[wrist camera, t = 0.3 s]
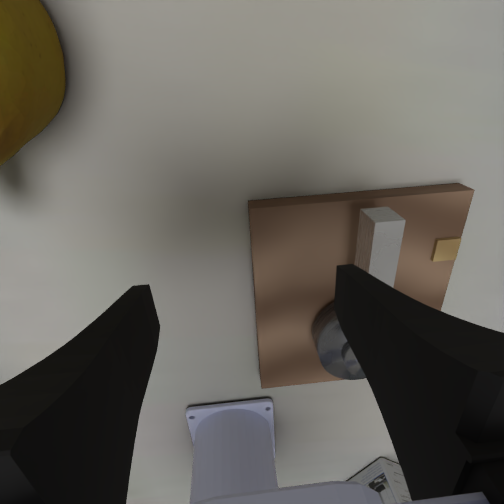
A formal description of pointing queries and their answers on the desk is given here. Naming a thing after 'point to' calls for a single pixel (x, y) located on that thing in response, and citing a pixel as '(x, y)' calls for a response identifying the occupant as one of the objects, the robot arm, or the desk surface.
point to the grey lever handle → (375, 263)
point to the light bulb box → (385, 481)
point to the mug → (27, 73)
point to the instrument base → (340, 253)
